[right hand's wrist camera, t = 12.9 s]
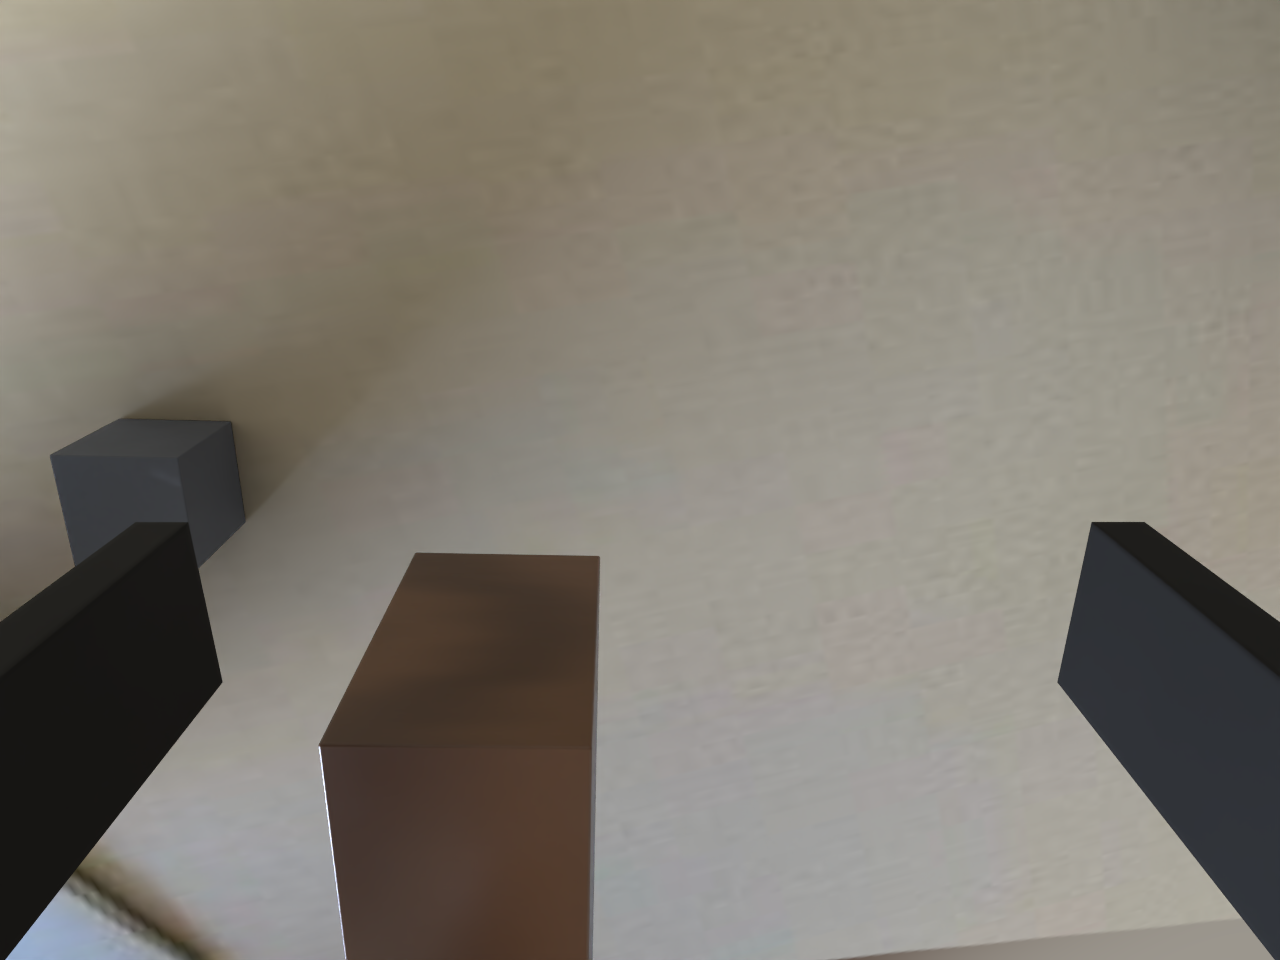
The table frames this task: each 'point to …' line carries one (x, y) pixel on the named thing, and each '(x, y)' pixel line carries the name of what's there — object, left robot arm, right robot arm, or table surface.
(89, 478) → the slate grey block
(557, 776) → the brown rectangular block
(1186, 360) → the table surface
